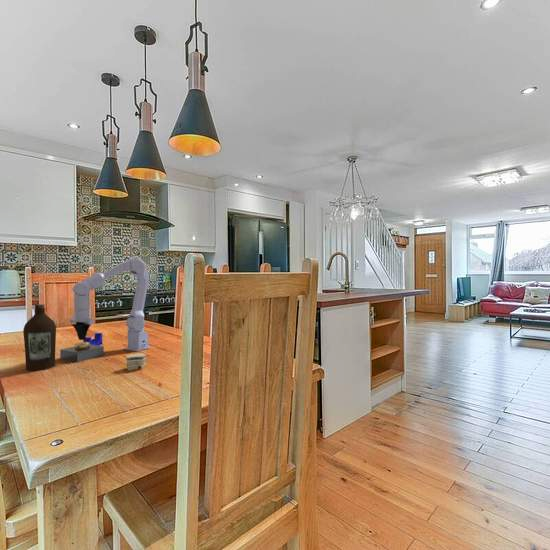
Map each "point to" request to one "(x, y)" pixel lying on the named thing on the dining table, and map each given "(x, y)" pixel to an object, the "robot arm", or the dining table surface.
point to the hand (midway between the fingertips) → (82, 339)
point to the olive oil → (39, 340)
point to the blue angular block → (96, 340)
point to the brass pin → (82, 345)
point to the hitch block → (81, 353)
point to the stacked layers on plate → (135, 361)
